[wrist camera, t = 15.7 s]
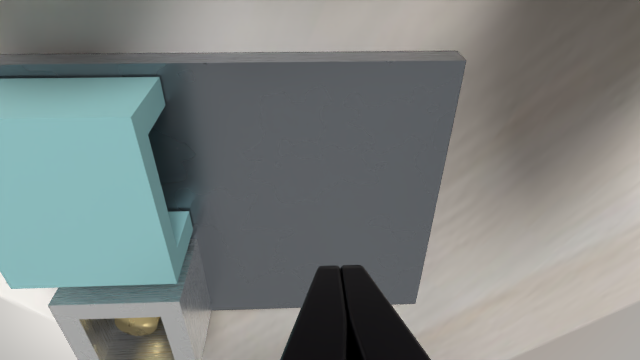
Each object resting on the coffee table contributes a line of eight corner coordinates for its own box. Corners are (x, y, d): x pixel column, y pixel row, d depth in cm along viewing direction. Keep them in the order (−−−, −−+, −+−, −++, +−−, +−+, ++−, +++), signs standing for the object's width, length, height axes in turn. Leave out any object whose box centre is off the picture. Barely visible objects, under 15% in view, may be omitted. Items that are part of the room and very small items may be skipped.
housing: (159, 76, 17) (130, 117, 14) (193, 229, 21) (176, 283, 18) (-25, 78, 16) (-93, 120, 13) (50, 233, 21) (11, 288, 18)
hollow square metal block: (196, 238, 22) (179, 301, 18) (211, 308, 25) (199, 372, 22) (85, 241, 21) (47, 305, 18) (115, 311, 25) (87, 377, 21)
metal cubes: (457, 50, 18) (495, 90, 14) (410, 288, 26) (427, 348, 23) (-30, 54, 17) (-112, 97, 14) (85, 298, 26) (53, 362, 22)
